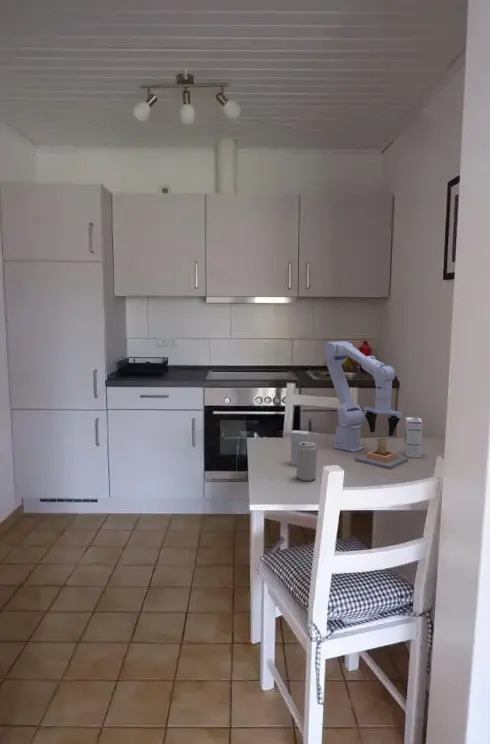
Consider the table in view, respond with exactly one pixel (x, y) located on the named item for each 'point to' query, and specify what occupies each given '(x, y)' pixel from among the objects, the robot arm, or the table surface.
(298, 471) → the beverage can
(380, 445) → the wood peg
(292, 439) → the skincare box
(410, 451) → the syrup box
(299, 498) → the table surface
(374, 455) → the collar stand
